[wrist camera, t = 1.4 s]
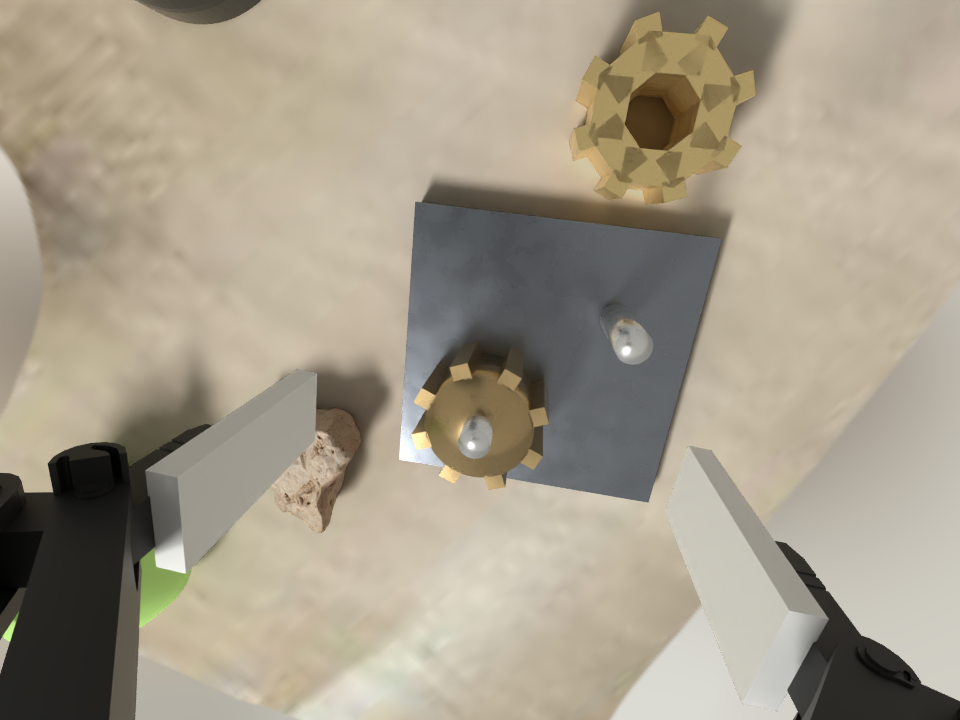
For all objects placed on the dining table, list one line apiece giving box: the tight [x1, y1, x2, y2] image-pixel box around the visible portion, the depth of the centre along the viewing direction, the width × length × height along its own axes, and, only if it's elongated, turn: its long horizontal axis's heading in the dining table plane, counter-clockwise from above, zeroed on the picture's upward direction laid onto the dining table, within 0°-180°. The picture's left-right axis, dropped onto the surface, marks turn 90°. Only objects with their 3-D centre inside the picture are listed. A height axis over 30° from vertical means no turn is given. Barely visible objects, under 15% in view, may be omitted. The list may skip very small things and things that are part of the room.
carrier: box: [399, 202, 722, 502], centre depth 30 cm, size 20×20×8 cm
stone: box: [270, 408, 362, 533], centre depth 38 cm, size 9×11×5 cm
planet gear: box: [569, 12, 756, 204], centre depth 26 cm, size 9×9×5 cm
